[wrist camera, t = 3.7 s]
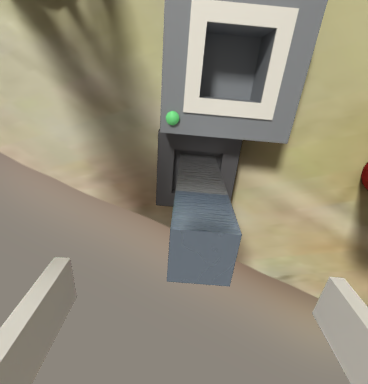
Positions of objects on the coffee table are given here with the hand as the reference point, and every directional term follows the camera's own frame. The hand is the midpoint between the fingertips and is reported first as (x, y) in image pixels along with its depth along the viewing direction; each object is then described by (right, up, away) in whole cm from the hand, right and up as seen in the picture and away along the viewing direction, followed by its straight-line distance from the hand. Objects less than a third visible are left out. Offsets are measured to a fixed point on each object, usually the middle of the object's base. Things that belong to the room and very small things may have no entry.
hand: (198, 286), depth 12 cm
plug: (+1, +7, +15) cm, 17 cm away
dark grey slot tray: (+1, +8, +16) cm, 18 cm away
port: (+4, +18, +11) cm, 21 cm away
